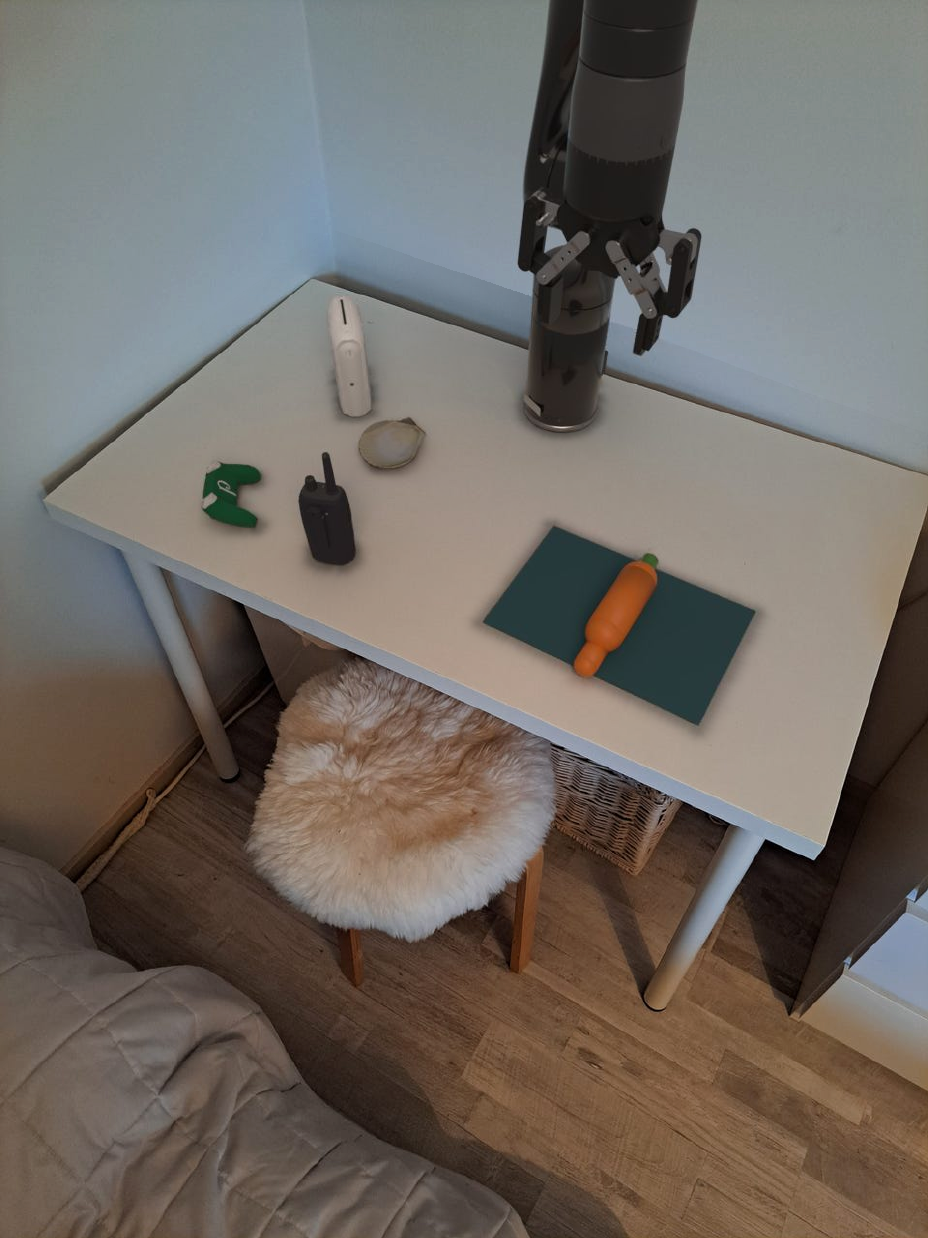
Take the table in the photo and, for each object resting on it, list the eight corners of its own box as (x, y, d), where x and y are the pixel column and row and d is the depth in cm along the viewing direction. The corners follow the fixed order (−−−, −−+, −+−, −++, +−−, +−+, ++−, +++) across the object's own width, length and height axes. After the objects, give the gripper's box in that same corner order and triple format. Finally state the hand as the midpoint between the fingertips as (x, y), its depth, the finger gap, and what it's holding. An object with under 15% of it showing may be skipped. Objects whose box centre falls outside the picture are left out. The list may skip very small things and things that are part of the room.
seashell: (356, 457, 106) (380, 483, 100) (347, 437, 104) (371, 463, 98) (412, 426, 107) (439, 451, 102) (404, 406, 105) (431, 430, 99)
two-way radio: (361, 548, 94) (345, 446, 82) (349, 577, 92) (331, 476, 80) (315, 540, 95) (292, 438, 83) (302, 569, 92) (276, 468, 80)
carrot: (630, 563, 92) (637, 539, 89) (664, 578, 91) (672, 554, 88) (561, 671, 84) (565, 648, 80) (597, 689, 82) (603, 666, 79)
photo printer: (375, 415, 108) (365, 332, 98) (341, 419, 108) (329, 336, 98) (366, 367, 114) (356, 284, 104) (335, 371, 114) (322, 287, 104)
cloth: (553, 527, 96) (554, 525, 96) (755, 612, 88) (755, 610, 88) (483, 622, 88) (483, 621, 88) (698, 725, 80) (699, 724, 80)
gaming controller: (246, 487, 103) (202, 463, 99) (264, 469, 101) (219, 444, 97) (241, 542, 97) (194, 520, 94) (260, 524, 95) (213, 500, 92)
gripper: (739, 133, 58) (690, 337, 71) (556, 90, 62) (541, 289, 75) (698, 178, 54) (654, 385, 67) (506, 128, 58) (500, 331, 71)
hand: (594, 334), depth 71 cm, fingers open, 8 cm apart
